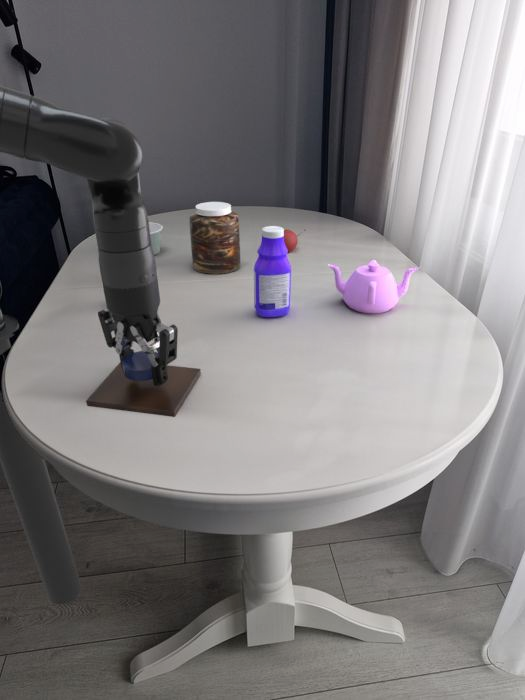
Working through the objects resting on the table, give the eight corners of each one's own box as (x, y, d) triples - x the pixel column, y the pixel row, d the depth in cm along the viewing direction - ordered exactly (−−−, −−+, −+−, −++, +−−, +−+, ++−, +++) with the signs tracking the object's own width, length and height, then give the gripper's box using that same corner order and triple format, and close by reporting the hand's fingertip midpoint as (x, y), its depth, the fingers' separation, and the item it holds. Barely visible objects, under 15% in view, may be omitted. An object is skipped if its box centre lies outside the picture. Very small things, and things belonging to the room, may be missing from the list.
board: (86, 406, 77) (85, 400, 76) (122, 365, 87) (121, 360, 86) (175, 417, 74) (174, 411, 74) (201, 373, 84) (200, 368, 84)
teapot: (413, 307, 106) (419, 266, 101) (361, 323, 100) (364, 280, 95) (375, 288, 115) (379, 249, 110) (324, 301, 109) (326, 261, 104)
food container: (172, 253, 137) (170, 229, 134) (130, 262, 131) (126, 237, 128) (154, 242, 146) (151, 219, 142) (113, 250, 140) (109, 226, 137)
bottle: (286, 305, 107) (287, 223, 99) (293, 316, 102) (294, 231, 94) (252, 308, 106) (250, 225, 97) (257, 320, 101) (256, 234, 92)
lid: (171, 367, 80) (170, 357, 79) (144, 385, 75) (143, 374, 74) (143, 357, 82) (141, 347, 82) (115, 373, 78) (113, 363, 77)
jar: (233, 256, 135) (231, 198, 127) (245, 271, 125) (244, 209, 117) (189, 261, 131) (184, 202, 124) (198, 277, 122) (193, 214, 114)
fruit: (295, 260, 137) (310, 233, 135) (277, 251, 135) (292, 224, 132) (287, 252, 142) (302, 226, 140) (270, 244, 140) (284, 218, 137)
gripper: (187, 277, 71) (196, 379, 79) (113, 259, 77) (129, 355, 86) (149, 296, 65) (163, 404, 73) (73, 275, 72) (94, 376, 80)
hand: (144, 377), depth 79 cm, fingers closed on lid, 5 cm apart
